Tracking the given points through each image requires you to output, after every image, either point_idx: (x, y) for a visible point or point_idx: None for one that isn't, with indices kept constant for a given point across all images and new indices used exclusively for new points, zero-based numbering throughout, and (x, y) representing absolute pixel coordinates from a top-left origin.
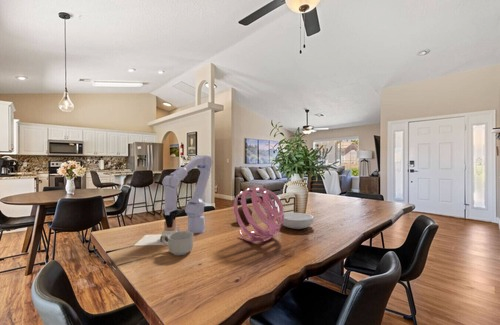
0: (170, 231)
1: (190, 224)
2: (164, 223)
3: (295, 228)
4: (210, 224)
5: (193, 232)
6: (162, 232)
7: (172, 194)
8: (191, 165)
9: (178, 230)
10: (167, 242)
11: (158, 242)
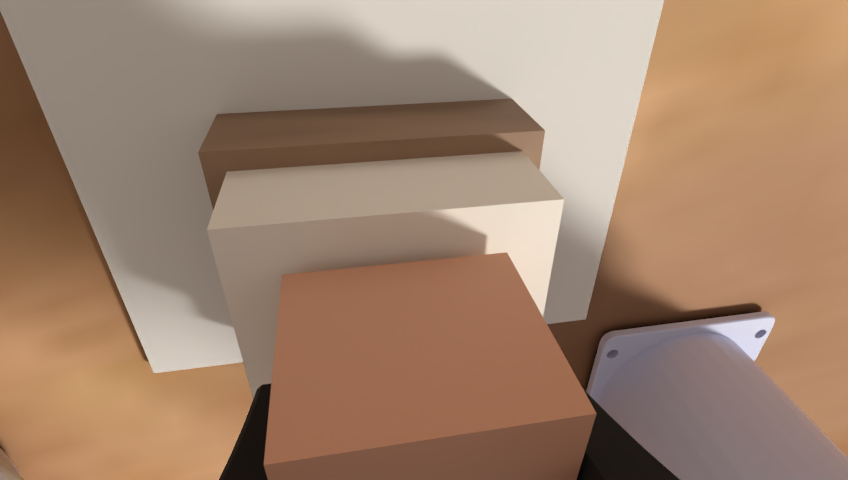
0: (250, 379)
1: (673, 464)
2: (269, 415)
3: None
4: (844, 436)
5: (596, 401)
6: (217, 230)
7: None
8: None
9: None
10: (206, 235)
11: (177, 89)
